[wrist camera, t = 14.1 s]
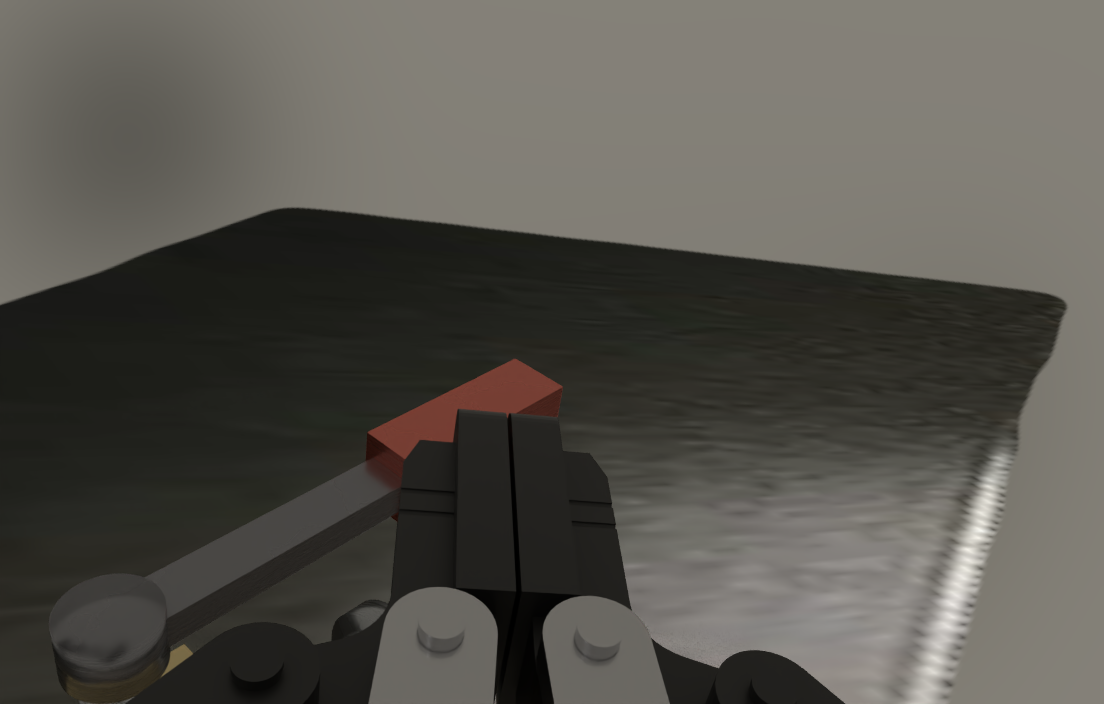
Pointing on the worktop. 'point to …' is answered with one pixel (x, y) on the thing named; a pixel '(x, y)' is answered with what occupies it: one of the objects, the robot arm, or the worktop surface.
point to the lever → (259, 549)
